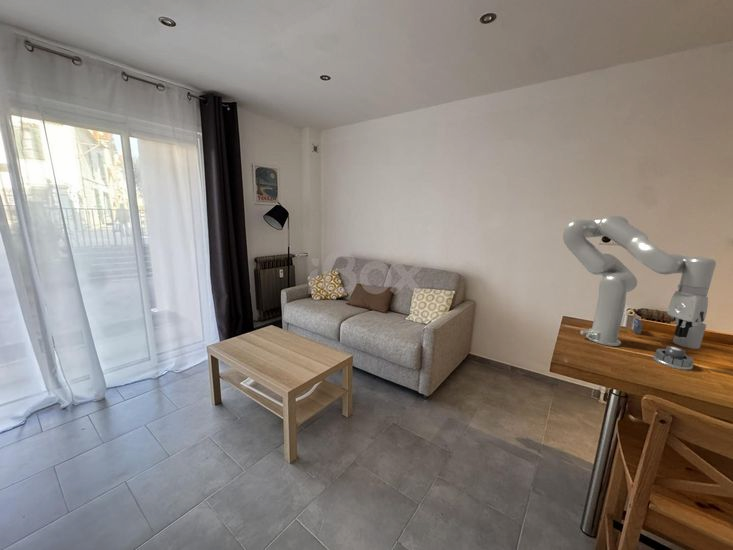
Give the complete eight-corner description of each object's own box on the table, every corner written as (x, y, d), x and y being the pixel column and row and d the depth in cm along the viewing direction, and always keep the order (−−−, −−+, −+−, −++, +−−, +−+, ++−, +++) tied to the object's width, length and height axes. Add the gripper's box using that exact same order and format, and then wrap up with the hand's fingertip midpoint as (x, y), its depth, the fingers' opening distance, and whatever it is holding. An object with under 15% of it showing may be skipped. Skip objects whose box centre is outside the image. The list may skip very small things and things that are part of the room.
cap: (672, 363, 114) (675, 351, 113) (659, 356, 119) (663, 345, 118) (686, 364, 114) (689, 352, 113) (673, 357, 119) (676, 346, 118)
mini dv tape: (630, 329, 152) (633, 318, 151) (634, 329, 152) (637, 318, 150) (636, 334, 145) (638, 322, 144) (640, 335, 144) (642, 323, 143)
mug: (678, 339, 140) (684, 318, 138) (703, 347, 133) (710, 324, 130) (664, 343, 136) (671, 320, 133) (690, 351, 128) (697, 327, 126)
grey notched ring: (670, 369, 111) (673, 360, 111) (645, 355, 122) (647, 347, 121) (701, 371, 111) (703, 362, 110) (672, 357, 122) (675, 349, 121)
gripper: (663, 285, 118) (652, 328, 121) (703, 295, 103) (689, 344, 107) (683, 286, 117) (671, 329, 121) (726, 296, 103) (711, 345, 107)
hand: (680, 336), depth 114 cm, fingers closed
